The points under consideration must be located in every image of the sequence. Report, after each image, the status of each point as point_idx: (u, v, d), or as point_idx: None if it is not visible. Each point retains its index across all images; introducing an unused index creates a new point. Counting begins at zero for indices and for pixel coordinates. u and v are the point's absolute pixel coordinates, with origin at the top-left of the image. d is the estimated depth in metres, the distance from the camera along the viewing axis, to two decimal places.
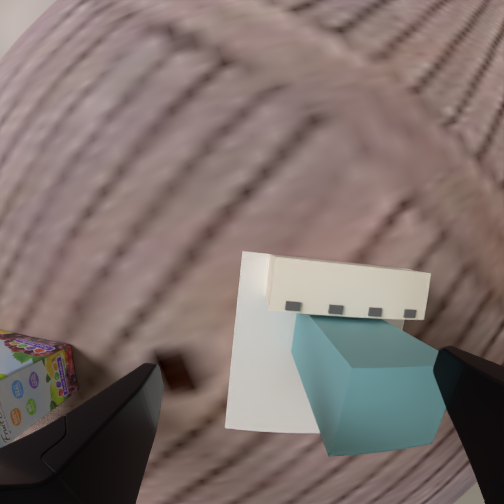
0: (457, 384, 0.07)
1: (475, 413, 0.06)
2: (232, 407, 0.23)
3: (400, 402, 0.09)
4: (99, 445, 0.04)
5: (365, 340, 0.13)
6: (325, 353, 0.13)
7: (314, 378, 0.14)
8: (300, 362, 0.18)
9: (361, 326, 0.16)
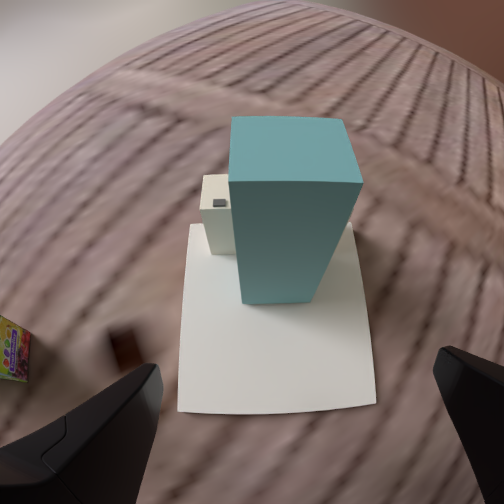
0: (457, 384, 0.07)
1: (475, 413, 0.06)
2: (185, 379, 0.20)
3: (289, 137, 0.12)
4: (99, 445, 0.04)
5: None
6: None
7: None
8: None
9: None
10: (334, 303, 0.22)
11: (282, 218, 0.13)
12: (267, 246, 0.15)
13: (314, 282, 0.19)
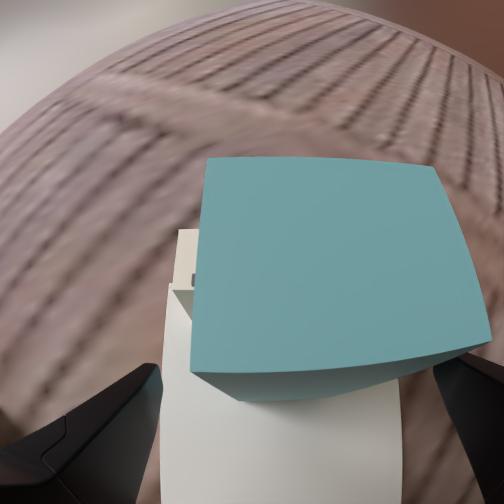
0: (457, 384, 0.07)
1: (475, 413, 0.06)
2: (168, 487, 0.13)
3: (341, 219, 0.05)
4: (99, 445, 0.04)
5: None
6: None
7: None
8: None
9: None
10: (360, 394, 0.15)
11: (312, 383, 0.06)
12: (279, 392, 0.08)
13: (341, 393, 0.12)
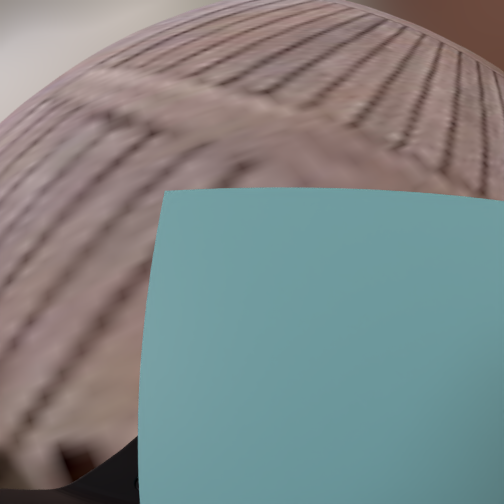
0: None
1: None
2: None
3: (430, 331, 0.02)
4: None
5: None
6: None
7: None
8: None
9: None
10: None
11: None
12: None
13: None
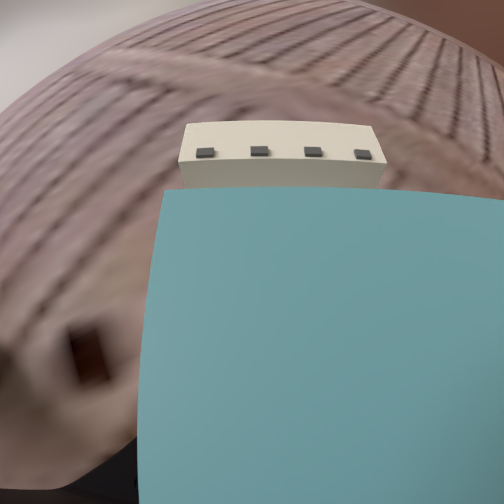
0: None
1: None
2: None
3: (431, 330, 0.02)
4: None
5: None
6: None
7: None
8: None
9: None
10: None
11: None
12: None
13: None
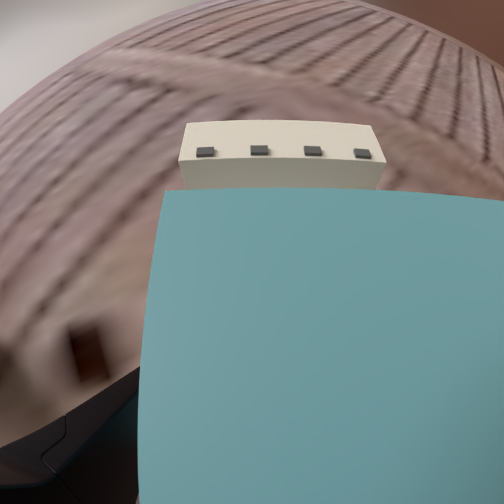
0: None
1: None
2: None
3: (430, 332, 0.02)
4: (99, 445, 0.04)
5: None
6: None
7: None
8: None
9: None
10: None
11: None
12: None
13: None
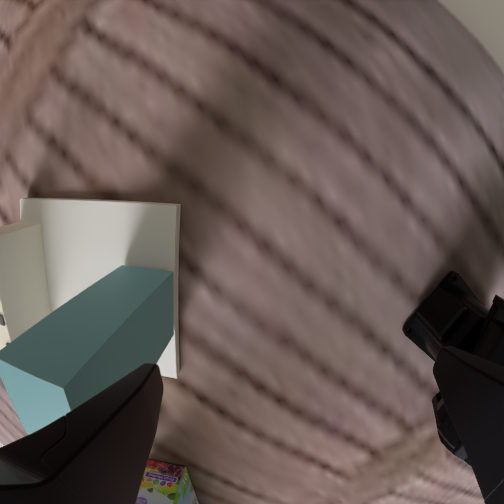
0: (457, 384, 0.07)
1: (475, 413, 0.06)
2: None
3: (35, 416, 0.09)
4: (99, 445, 0.04)
5: None
6: None
7: None
8: None
9: None
10: (80, 233, 0.21)
11: None
12: None
13: (153, 297, 0.17)
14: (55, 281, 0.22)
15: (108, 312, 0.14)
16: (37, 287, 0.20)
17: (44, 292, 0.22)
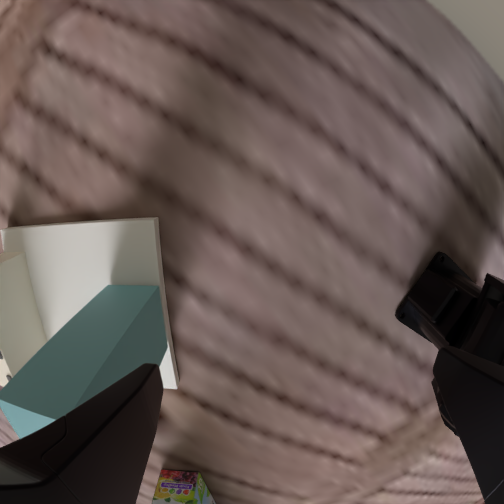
0: (457, 384, 0.07)
1: (475, 413, 0.06)
2: None
3: None
4: (99, 445, 0.04)
5: None
6: None
7: None
8: None
9: None
10: (63, 258, 0.20)
11: None
12: None
13: (142, 315, 0.17)
14: (45, 307, 0.21)
15: (99, 337, 0.13)
16: (29, 316, 0.20)
17: (36, 319, 0.21)
